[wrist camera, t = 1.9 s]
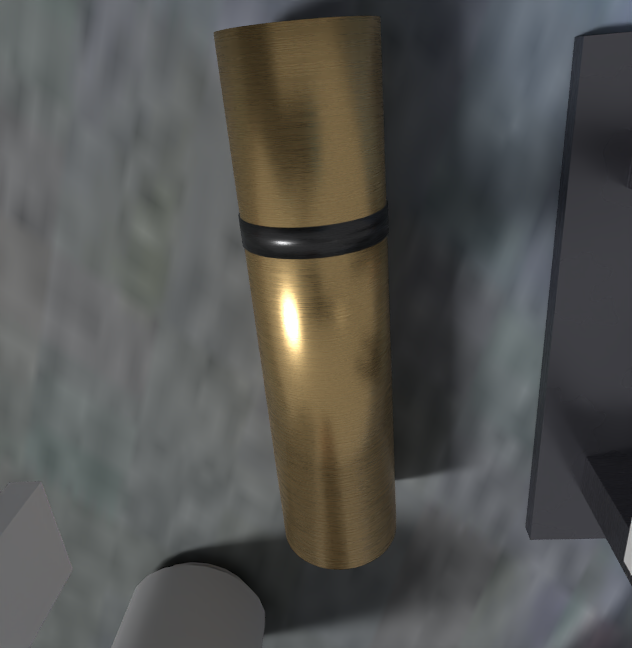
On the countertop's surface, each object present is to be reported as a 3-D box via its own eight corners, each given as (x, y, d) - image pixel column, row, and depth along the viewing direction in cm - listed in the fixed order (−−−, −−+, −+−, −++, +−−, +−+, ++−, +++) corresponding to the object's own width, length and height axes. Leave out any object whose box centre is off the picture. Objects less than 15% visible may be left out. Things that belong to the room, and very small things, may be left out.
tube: (251, 35, 20) (180, 33, 15) (394, 19, 18) (361, 11, 14) (304, 478, 28) (268, 558, 24) (405, 492, 27) (386, 580, 22)
